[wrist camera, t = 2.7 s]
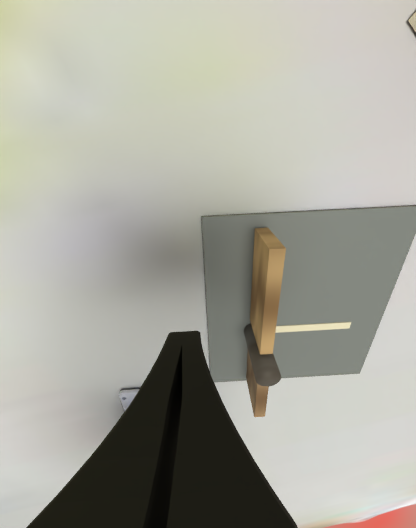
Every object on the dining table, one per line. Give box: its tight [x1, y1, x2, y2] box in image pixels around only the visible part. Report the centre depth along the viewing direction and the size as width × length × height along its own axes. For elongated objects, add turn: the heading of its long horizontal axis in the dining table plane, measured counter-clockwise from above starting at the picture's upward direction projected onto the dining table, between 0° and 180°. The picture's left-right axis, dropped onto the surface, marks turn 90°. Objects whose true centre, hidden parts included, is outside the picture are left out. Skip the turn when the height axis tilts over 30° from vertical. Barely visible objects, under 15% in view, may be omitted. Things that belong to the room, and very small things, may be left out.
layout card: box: [202, 205, 416, 382], centre depth 21 cm, size 19×17×1 cm
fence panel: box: [250, 228, 286, 354], centre depth 17 cm, size 9×1×4 cm, turn 2°
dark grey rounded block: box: [244, 323, 281, 417], centre depth 21 cm, size 8×2×5 cm, turn 2°
